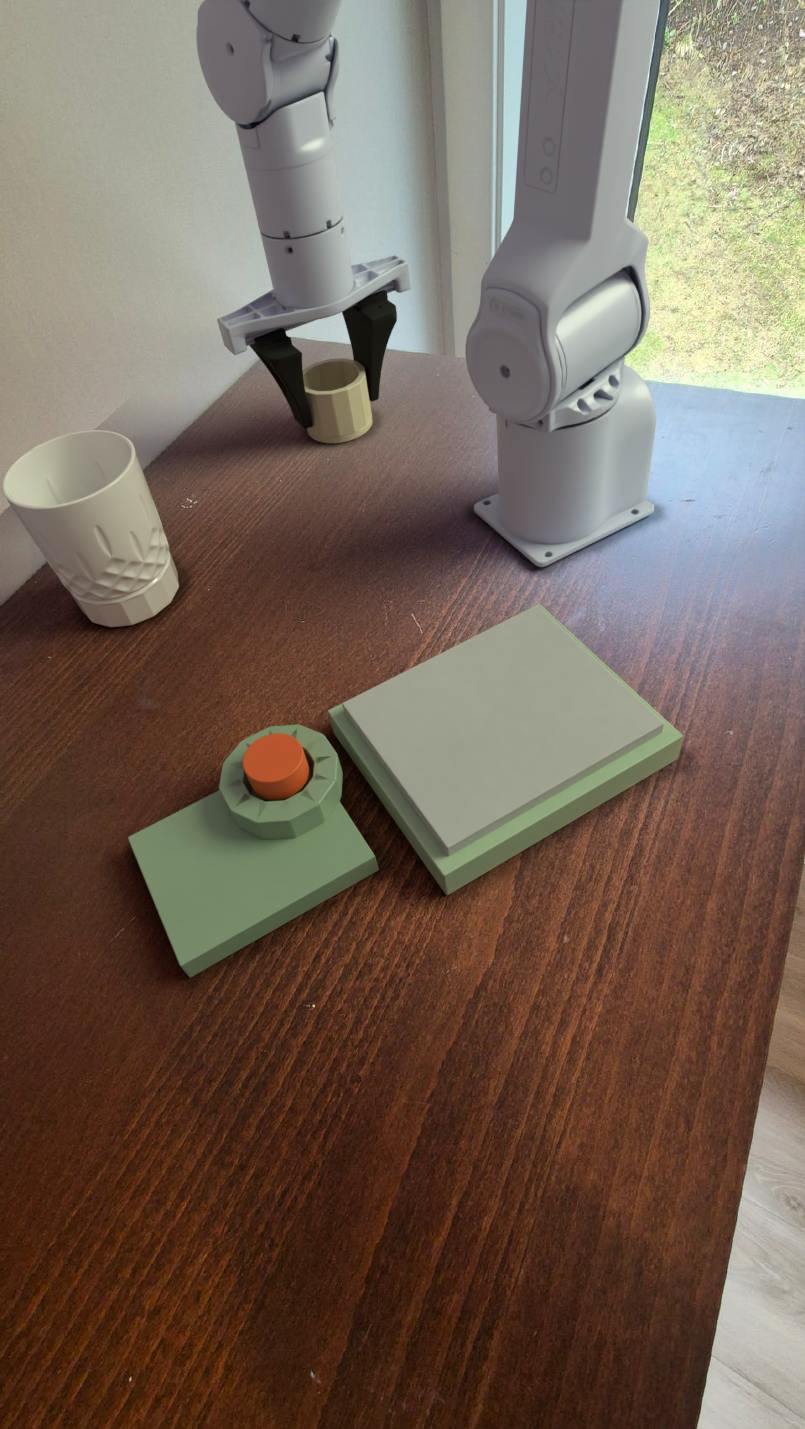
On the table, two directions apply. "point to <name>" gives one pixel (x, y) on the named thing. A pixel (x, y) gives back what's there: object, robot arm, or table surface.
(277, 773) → the button
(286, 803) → the block
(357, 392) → the beige cup
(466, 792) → the scale
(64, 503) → the white cup
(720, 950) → the table surface
